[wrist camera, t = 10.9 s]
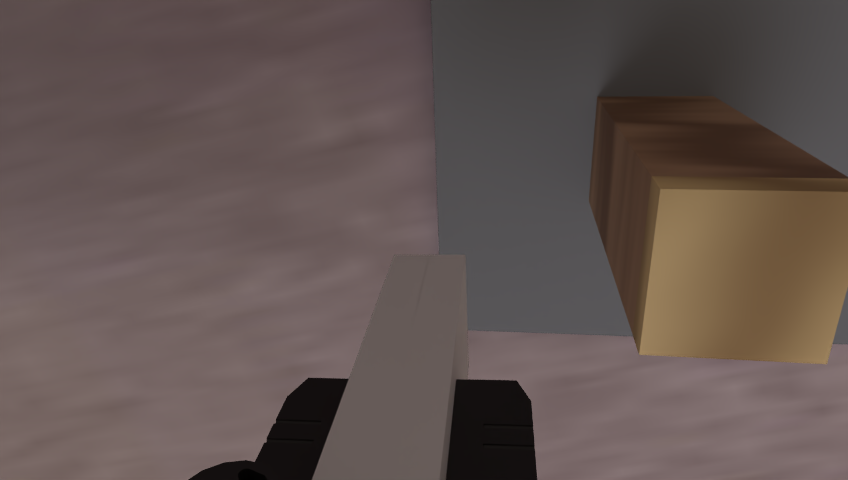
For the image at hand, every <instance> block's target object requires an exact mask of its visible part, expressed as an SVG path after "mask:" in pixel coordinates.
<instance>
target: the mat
mask: <svg viewBox="0 0 848 480" xmlns="http://www.w3.org/2000/svg"><path fill="white" fill-rule="evenodd" d="M431 24H432V54H433V84H434V115H435V145H436V175H437V206H438V236H439V255H465V258H466V293H467V327H468V330H477V331H503V332H530V333H557V334H584V335H611V336H633V334H632V331H631V328H630V325H629V322H628V319H627V316H626V313H625V310H624V307H623V304H622V301H621V298H620V295H619V292H618V289H617V286H616V283H615V279H614V276H613V273H612V270H611V267H610V264H609V261H608V258H607V255H606V252H605V249H604V246H603V243H602V240H601V237H600V234H599V231H598V228H597V225H596V222H595V219H594V215H593V212H592V209H591V206H590V203H589V190H590V178H591V166H592V153H593V141H594V129H595V116H596V104H597V97H627V96H714V97H716V98H717V99H719V100H721V101H722V102H724V103H726V104H727V105H729V106H731V107H732V108H734V109H736V110H737V111H739V112H741V113H742V114H744V115H746V116H747V117H749V118H751V119H752V120H754V121H756V122H757V123H759V124H761V125H762V126H764V127H766V128H767V129H769V130H771V131H772V132H774V133H776V134H777V135H779V136H781V137H782V138H784V139H786V140H787V141H789V142H791V143H792V144H794V145H796V146H797V147H799V148H801V149H802V150H804V151H806V152H807V153H809V154H811V155H812V156H814V157H816V158H817V159H819V160H821V161H822V162H824V163H826V164H827V165H829V166H831V167H832V168H834V169H836V170H837V171H839V172H841V173H842V174H844V175H846V176H847V177H848V0H431ZM832 344H848V288H847V292H846V295H845V299H844V303H843V306H842V310H841V314H840V317H839V321H838V325H837V328H836V332H835V336H834V340H833V343H832Z"/></svg>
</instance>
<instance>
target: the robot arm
mask: <svg viewBox="0 0 848 480" xmlns="http://www.w3.org/2000/svg"><path fill="white" fill-rule="evenodd" d="M468 366H469V361H468V327H467V293H466V258H465V255H394V257H393V260H392V263H391V265H390V268H389V271H388V273H387V276H386V279H385V282H384V284H383V287H382V290H381V293H380V295H379V298H378V301H377V303H376V306H375V309H374V312H373V314H372V317H371V320H370V323H369V325H368V328H367V331H366V333H365V336H364V339H363V342H362V344H361V347H360V350H359V353H358V355H357V358H356V361H355V363H354V366H353V369H352V372H351V374H350V377H349V379H334V378H308V379H307V380H306V381H304V382H303V383H302V384H301V385H300V386H299V387H298V388H297V389H295V390H294V391H293V392H292V393H291V394H290V395H289V396H287V398H286V400H285V402H284V404H283V406H282V408H281V410H280V412H279V414H278V416H277V418H276V424H273V426H272V428H271V430H270V432H269V435H268V437H267V442H266V443H264V445H263V447H262V449H261V451H260V453H259V455H258V457H257V459H256V461H255V462H252V461H247V460H245V461H235V462H225V463H222V464H219V465H216V466H214V467H211V468H208V469H205V470H203V471H201V472H199V473H198V474H196V475H195V476H193V477H192V478H190V479H189V480H537V472H536V459H535V449H534V433H533V420H532V407H531V400H530V399H529V398H528V396H527V395H526V393H525V392H524V390H523V389H522V388H521V386H520V385H519V383H518V382H517V381H509V380H467V379H468Z"/></svg>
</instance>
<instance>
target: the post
mask: <svg viewBox="0 0 848 480" xmlns="http://www.w3.org/2000/svg"><path fill="white" fill-rule="evenodd" d="M589 203H590V206H591V209H592V212H593V215H594V219H595V222H596V225H597V228H598V231H599V234H600V237H601V240H602V243H603V246H604V249H605V252H606V255H607V258H608V261H609V264H610V267H611V270H612V273H613V276H614V279H615V283H616V286H617V289H618V292H619V295H620V298H621V301H622V304H623V307H624V310H625V313H626V316H627V319H628V322H629V325H630V328H631V331H632V334H633V337H634V340H635V343H636V347H637V350H638V353H639V355H656V356H676V357H696V358H716V359H735V360H755V361H775V362H795V363H815V364H827V362H828V358H829V354H830V351H831V347H832V343H833V340H834V336H835V332H836V328H837V325H838V321H839V317H840V314H841V310H842V306H843V303H844V299H845V295H846V292H847V288H848V177H847V176H846V175H844V174H842V173H841V172H839V171H837V170H836V169H834V168H832V167H831V166H829V165H827V164H826V163H824V162H822V161H821V160H819V159H817V158H816V157H814V156H812V155H811V154H809V153H807V152H806V151H804V150H802V149H801V148H799V147H797V146H796V145H794V144H792V143H791V142H789V141H787V140H786V139H784V138H782V137H781V136H779V135H777V134H776V133H774V132H772V131H771V130H769V129H767V128H766V127H764V126H762V125H761V124H759V123H757V122H756V121H754V120H752V119H751V118H749V117H747V116H746V115H744V114H742V113H741V112H739V111H737V110H736V109H734V108H732V107H731V106H729V105H727V104H726V103H724V102H722V101H721V100H719V99H717V98H716V97H714V96H627V97H597V104H596V116H595V129H594V141H593V153H592V166H591V178H590V190H589Z"/></svg>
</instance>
